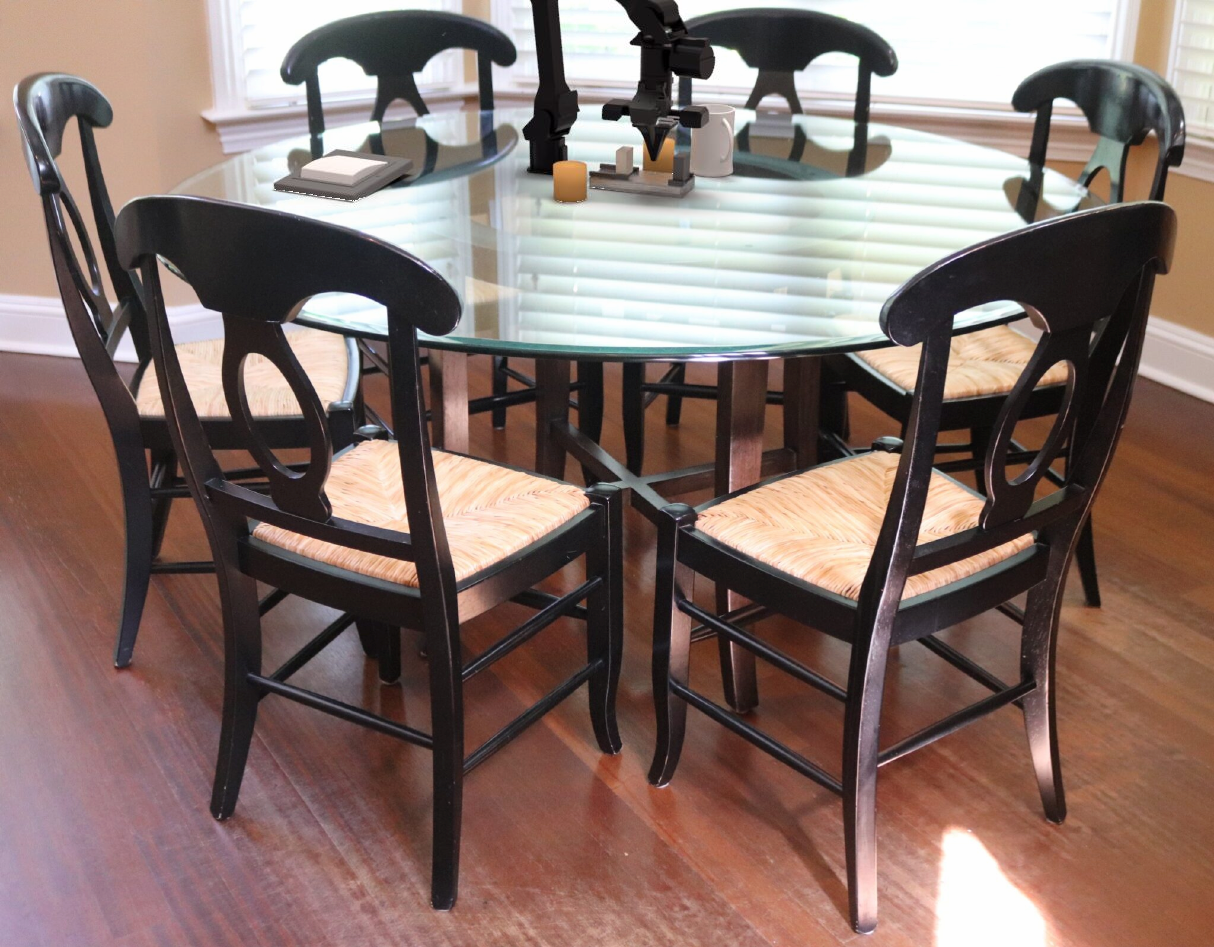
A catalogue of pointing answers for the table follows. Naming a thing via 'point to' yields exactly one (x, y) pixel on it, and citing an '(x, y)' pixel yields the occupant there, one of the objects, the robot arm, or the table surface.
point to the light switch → (345, 175)
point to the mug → (714, 143)
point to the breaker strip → (640, 181)
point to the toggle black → (681, 166)
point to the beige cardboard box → (624, 160)
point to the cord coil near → (570, 181)
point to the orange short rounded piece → (660, 158)
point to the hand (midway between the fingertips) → (654, 161)
